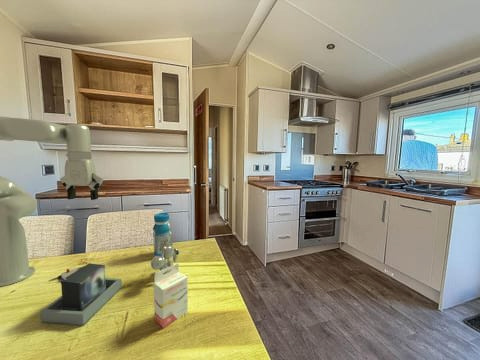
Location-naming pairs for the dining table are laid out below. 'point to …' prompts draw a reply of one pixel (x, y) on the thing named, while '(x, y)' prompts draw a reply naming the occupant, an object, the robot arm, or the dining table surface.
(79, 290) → the small box
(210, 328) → the dining table surface
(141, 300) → the dining table surface
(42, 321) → the tray
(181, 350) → the dining table surface
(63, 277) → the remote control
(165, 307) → the ink cartridge box
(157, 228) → the beverage bottle
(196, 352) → the dining table surface
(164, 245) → the robot toy
